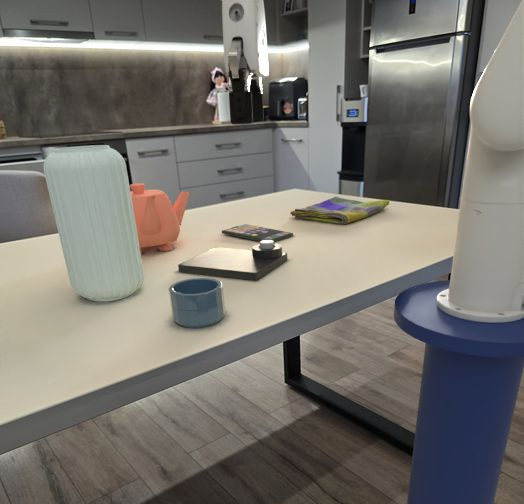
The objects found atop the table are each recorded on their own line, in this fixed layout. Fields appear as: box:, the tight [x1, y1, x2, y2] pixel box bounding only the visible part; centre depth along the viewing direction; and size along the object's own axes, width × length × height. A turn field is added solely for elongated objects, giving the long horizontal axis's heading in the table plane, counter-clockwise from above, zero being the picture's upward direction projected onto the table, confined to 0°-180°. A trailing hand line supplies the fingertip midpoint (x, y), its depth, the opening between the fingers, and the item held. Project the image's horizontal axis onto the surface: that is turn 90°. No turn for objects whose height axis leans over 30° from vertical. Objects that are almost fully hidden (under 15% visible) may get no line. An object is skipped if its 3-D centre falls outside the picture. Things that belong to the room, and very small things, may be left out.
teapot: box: [129, 182, 191, 255], centre depth 101 cm, size 16×17×14 cm
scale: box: [177, 242, 288, 282], centre depth 89 cm, size 16×13×3 cm
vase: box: [42, 144, 145, 303], centre depth 74 cm, size 12×12×22 cm
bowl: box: [168, 277, 226, 329], centre depth 66 cm, size 7×7×5 cm
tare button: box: [259, 240, 275, 249], centre depth 89 cm, size 3×3×1 cm
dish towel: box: [290, 196, 390, 225], centre depth 128 cm, size 18×24×3 cm
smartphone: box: [221, 223, 294, 243], centre depth 110 cm, size 8×15×1 cm, turn 48°
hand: (248, 122), depth 73 cm, fingers open, 9 cm apart
